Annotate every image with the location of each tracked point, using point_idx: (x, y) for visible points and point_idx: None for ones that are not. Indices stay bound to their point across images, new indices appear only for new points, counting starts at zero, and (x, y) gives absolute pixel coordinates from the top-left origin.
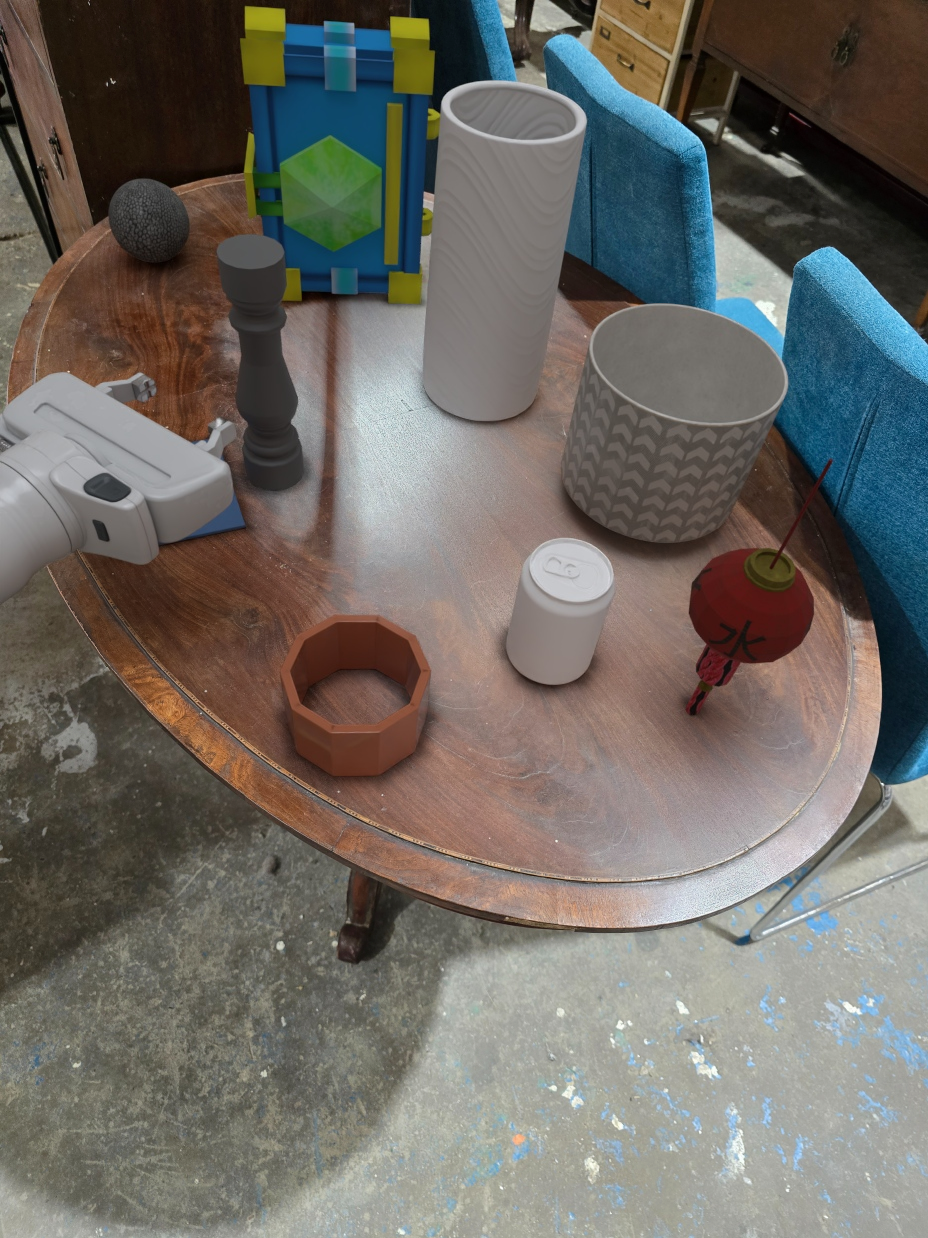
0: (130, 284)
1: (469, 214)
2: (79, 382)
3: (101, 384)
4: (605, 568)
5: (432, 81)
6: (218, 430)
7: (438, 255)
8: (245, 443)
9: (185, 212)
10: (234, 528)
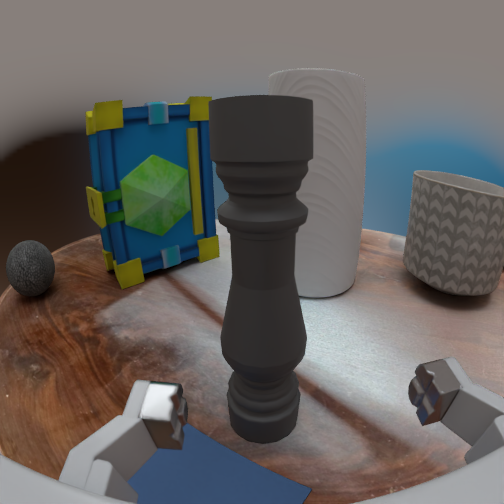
0: (27, 313)
1: (333, 124)
2: (20, 480)
3: (73, 457)
4: None
5: None
6: (467, 384)
7: None
8: (249, 407)
9: (50, 254)
10: (304, 500)
